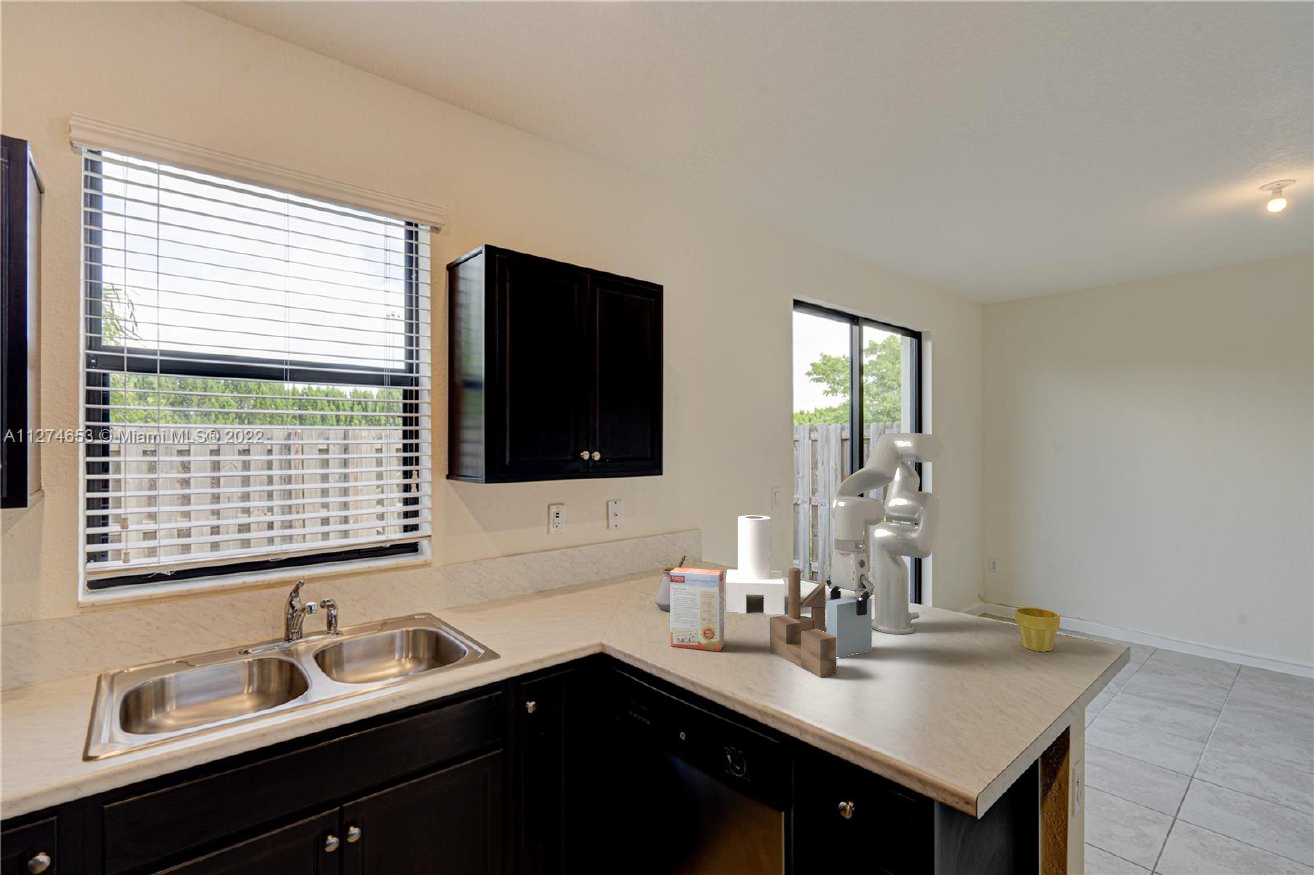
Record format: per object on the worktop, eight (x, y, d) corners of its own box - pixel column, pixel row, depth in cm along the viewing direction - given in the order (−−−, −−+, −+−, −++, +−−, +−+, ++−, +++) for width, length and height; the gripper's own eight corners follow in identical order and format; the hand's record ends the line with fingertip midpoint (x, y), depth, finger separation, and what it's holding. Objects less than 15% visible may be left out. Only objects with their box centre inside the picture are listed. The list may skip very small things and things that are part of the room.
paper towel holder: (727, 597, 219) (727, 513, 219) (780, 599, 216) (780, 514, 216) (725, 612, 200) (725, 520, 200) (784, 615, 198) (784, 521, 197)
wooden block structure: (825, 632, 180) (825, 570, 180) (788, 631, 181) (788, 570, 181) (823, 628, 184) (823, 568, 184) (786, 627, 185) (786, 567, 185)
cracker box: (724, 645, 169) (724, 569, 169) (719, 652, 164) (719, 574, 163) (676, 639, 174) (676, 566, 174) (669, 646, 168) (669, 570, 168)
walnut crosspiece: (784, 648, 167) (784, 615, 167) (836, 674, 149) (836, 637, 149) (769, 651, 165) (769, 617, 165) (820, 677, 147) (820, 640, 147)
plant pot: (1012, 649, 166) (1012, 613, 166) (1017, 639, 174) (1017, 604, 174) (1058, 657, 159) (1058, 620, 159) (1061, 646, 168) (1061, 610, 168)
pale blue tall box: (860, 646, 168) (860, 595, 168) (871, 651, 165) (871, 599, 164) (826, 653, 163) (826, 600, 163) (837, 658, 159) (837, 604, 159)
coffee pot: (683, 614, 198) (683, 568, 198) (649, 611, 202) (649, 565, 202) (701, 598, 218) (701, 555, 218) (670, 595, 222) (670, 553, 222)
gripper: (884, 550, 157) (883, 617, 157) (837, 540, 173) (836, 601, 173) (862, 552, 154) (861, 620, 154) (816, 541, 170) (815, 604, 169)
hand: (848, 610), depth 163 cm, fingers open, 9 cm apart
